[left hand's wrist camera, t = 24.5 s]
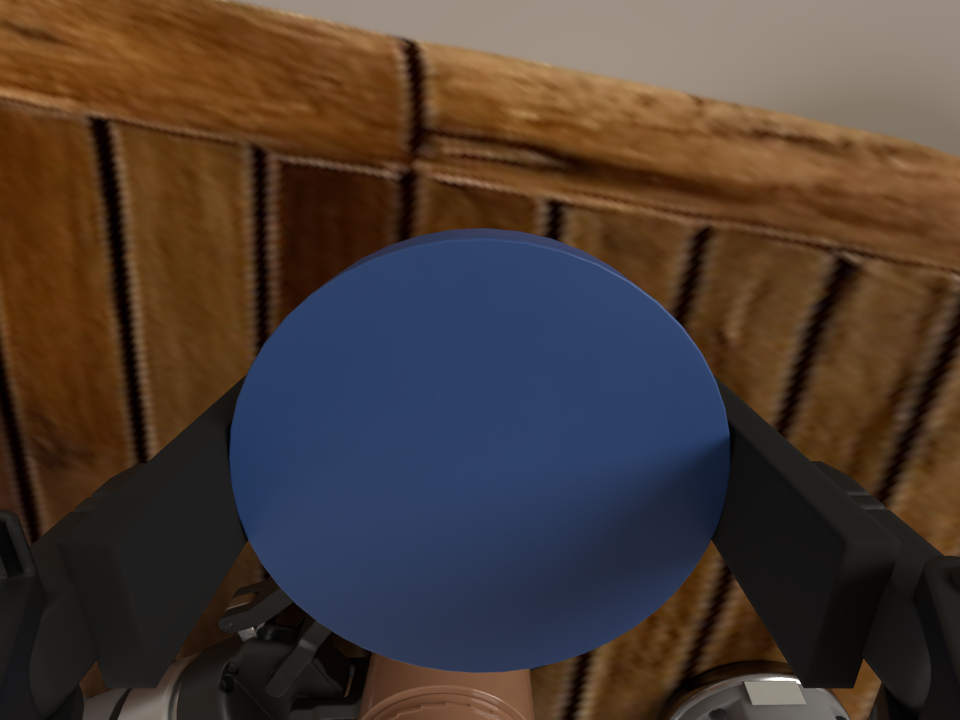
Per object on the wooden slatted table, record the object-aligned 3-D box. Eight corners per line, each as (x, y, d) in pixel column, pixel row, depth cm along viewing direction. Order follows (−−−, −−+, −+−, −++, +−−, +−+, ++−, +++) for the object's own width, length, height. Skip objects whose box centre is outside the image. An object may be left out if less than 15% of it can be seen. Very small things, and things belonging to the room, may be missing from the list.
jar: (389, 498, 37) (327, 722, 22) (513, 489, 36) (536, 710, 22) (406, 596, 40) (360, 852, 25) (520, 588, 39) (545, 843, 24)
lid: (775, 491, 12) (815, 535, 11) (440, 674, 14) (435, 732, 13) (539, 117, 10) (550, 107, 8) (165, 407, 12) (119, 443, 10)
